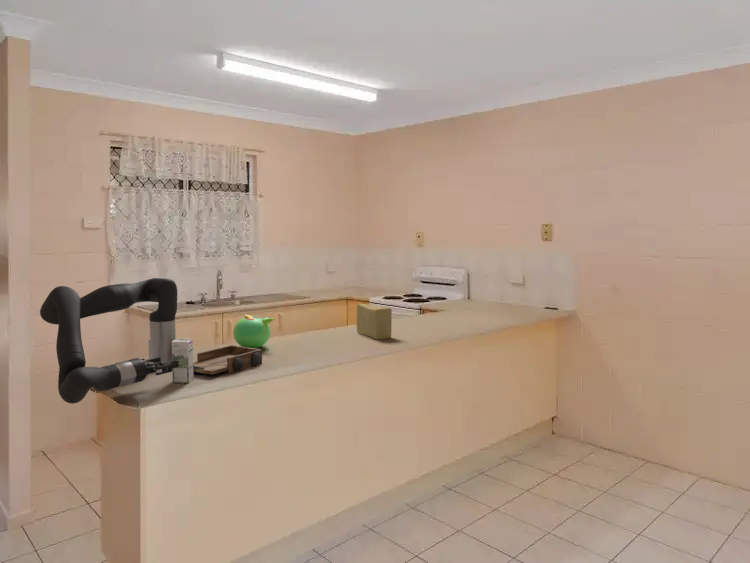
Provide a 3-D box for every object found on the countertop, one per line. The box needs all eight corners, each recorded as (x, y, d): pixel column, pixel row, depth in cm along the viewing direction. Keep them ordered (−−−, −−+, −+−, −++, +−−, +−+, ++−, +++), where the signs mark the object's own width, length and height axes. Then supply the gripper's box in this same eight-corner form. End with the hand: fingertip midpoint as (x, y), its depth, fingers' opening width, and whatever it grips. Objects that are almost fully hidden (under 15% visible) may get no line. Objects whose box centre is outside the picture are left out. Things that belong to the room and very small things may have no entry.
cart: (196, 367, 217) (195, 353, 217) (230, 358, 233) (229, 344, 232) (230, 373, 208) (230, 358, 208) (263, 363, 224) (263, 349, 224)
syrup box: (194, 378, 201) (193, 337, 200) (189, 383, 195) (188, 341, 194) (177, 378, 201) (176, 337, 199) (172, 383, 195) (171, 341, 194)
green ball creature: (231, 344, 259) (230, 312, 258) (268, 342, 265) (268, 310, 264) (236, 353, 243) (235, 318, 241) (276, 350, 249) (276, 316, 247)
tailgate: (180, 369, 209) (180, 364, 209) (197, 364, 216) (197, 359, 216) (211, 374, 202) (211, 369, 202) (228, 369, 209) (228, 365, 208)
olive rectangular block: (349, 333, 290) (349, 303, 289) (365, 331, 296) (365, 302, 295) (376, 340, 273) (376, 308, 271) (392, 337, 279) (392, 307, 277)
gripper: (112, 381, 181) (154, 370, 195) (142, 388, 174) (184, 376, 188) (111, 358, 181) (154, 348, 195) (141, 363, 174) (183, 353, 188)
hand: (168, 362), depth 192 cm, fingers open, 8 cm apart
